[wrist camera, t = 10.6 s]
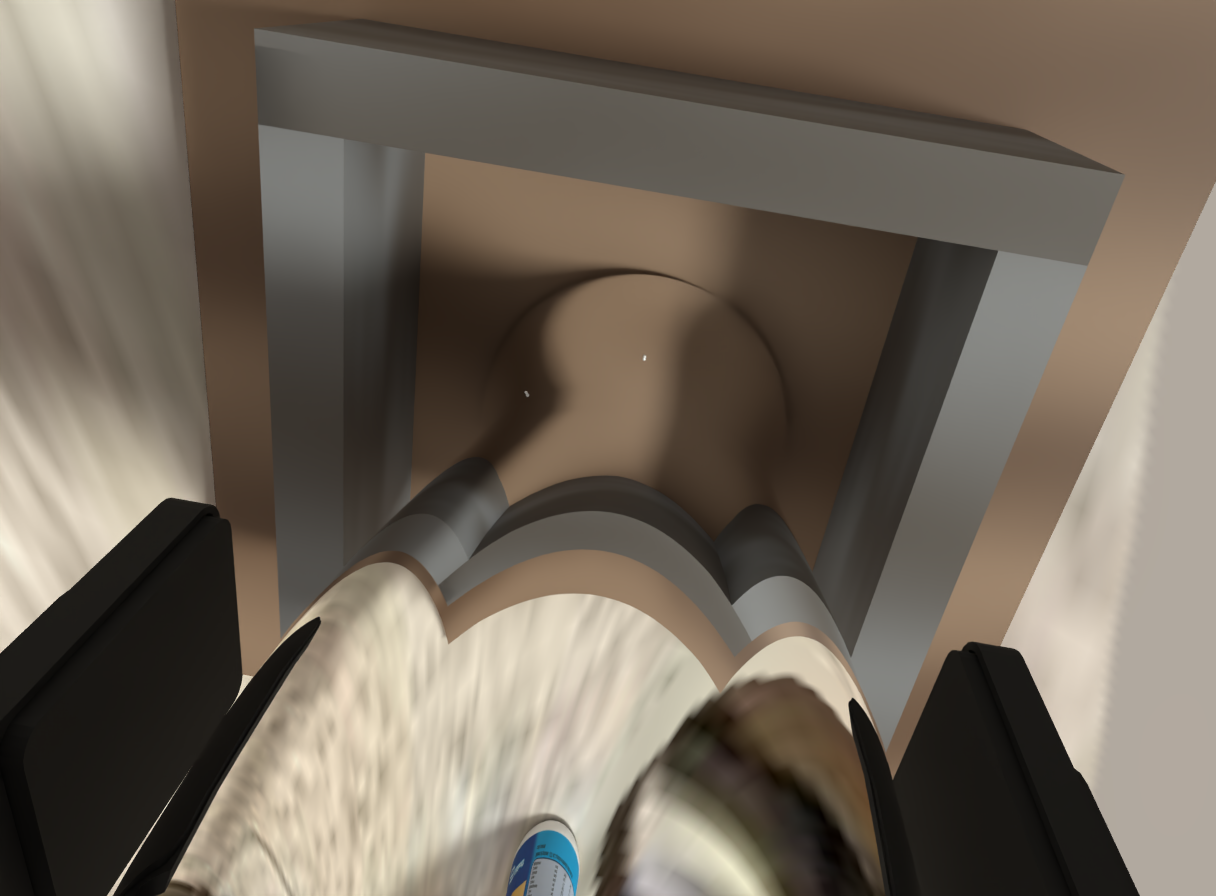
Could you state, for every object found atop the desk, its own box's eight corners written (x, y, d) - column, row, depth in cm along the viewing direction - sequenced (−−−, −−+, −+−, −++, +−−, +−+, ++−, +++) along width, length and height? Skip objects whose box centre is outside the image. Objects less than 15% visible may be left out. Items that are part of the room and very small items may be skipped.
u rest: (183, -316, 14) (-61, -456, 10) (1324, -136, 13) (1619, -195, 9) (247, 646, 23) (139, 799, 19) (919, 771, 23) (967, 957, 19)
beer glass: (875, 457, 18) (1326, 1820, 5) (602, 605, 20) (391, 1761, 7) (676, 170, 16) (454, 1202, 2) (398, 375, 18) (-456, 1432, 5)
